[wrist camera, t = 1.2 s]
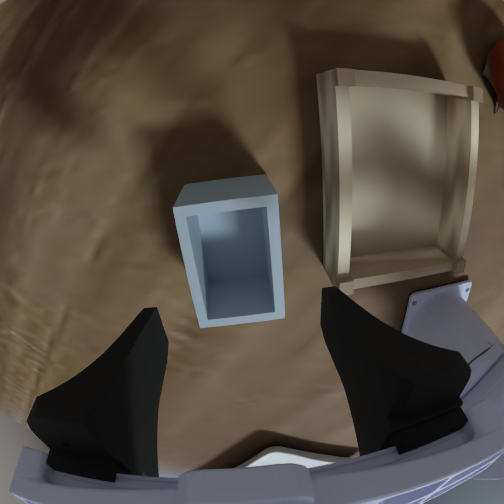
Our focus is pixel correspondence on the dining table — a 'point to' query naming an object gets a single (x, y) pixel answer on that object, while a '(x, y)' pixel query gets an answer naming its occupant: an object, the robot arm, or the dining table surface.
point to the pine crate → (395, 175)
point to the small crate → (232, 249)
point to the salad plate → (290, 458)
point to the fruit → (496, 71)
